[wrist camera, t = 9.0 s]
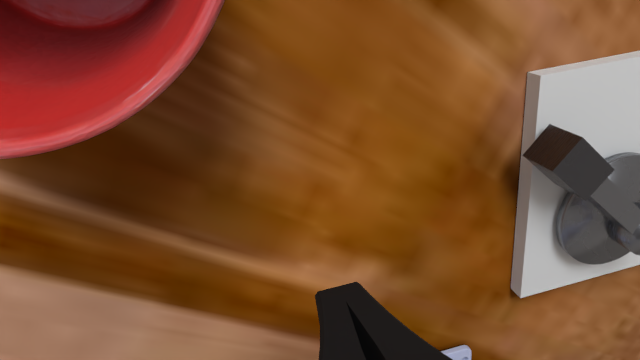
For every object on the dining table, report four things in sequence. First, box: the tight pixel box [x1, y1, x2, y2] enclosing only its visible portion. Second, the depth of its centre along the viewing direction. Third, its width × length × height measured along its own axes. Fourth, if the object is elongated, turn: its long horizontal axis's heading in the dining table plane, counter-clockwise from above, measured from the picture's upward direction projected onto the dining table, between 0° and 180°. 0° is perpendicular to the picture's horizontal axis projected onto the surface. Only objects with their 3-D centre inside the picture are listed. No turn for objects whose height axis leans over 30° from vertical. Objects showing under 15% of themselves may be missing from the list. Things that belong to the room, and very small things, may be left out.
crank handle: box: [523, 124, 640, 265], centre depth 24 cm, size 11×7×2 cm, turn 52°
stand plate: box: [511, 51, 640, 298], centre depth 26 cm, size 14×14×1 cm
